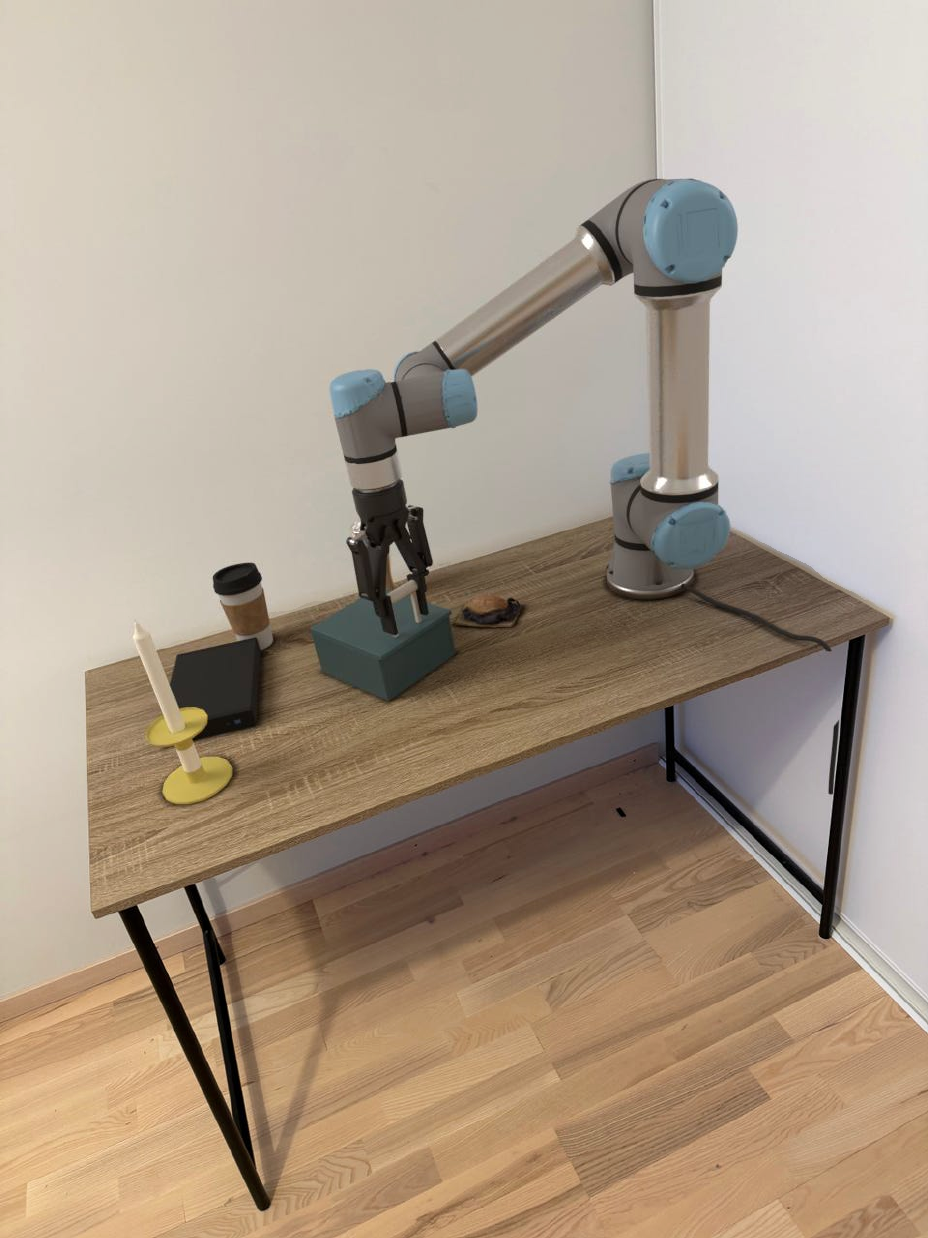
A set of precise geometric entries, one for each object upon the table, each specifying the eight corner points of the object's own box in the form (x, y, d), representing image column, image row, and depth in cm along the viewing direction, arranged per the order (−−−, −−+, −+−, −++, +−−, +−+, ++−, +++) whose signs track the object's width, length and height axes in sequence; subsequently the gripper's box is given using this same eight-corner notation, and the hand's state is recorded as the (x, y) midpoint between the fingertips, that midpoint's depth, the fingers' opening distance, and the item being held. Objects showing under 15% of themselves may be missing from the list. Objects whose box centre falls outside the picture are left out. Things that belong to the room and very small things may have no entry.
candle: (191, 754, 126) (130, 597, 113) (246, 762, 123) (189, 601, 109) (148, 798, 119) (77, 636, 105) (205, 809, 115) (138, 642, 102)
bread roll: (454, 628, 148) (450, 610, 146) (468, 604, 154) (464, 586, 153) (512, 629, 144) (509, 611, 142) (524, 604, 151) (521, 586, 149)
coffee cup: (269, 656, 149) (245, 581, 141) (226, 656, 151) (200, 582, 143) (287, 631, 156) (265, 558, 148) (245, 632, 158) (222, 560, 150)
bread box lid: (452, 614, 136) (444, 569, 132) (381, 660, 126) (371, 614, 122) (380, 590, 147) (370, 548, 143) (310, 632, 137) (298, 588, 133)
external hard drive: (261, 651, 150) (256, 637, 149) (256, 725, 130) (251, 710, 129) (181, 669, 149) (176, 654, 148) (164, 746, 129) (158, 731, 128)
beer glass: (406, 594, 161) (391, 523, 154) (375, 608, 158) (358, 536, 151) (388, 583, 166) (373, 513, 159) (358, 596, 163) (341, 526, 156)
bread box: (456, 653, 140) (448, 613, 136) (388, 701, 131) (378, 659, 127) (388, 629, 151) (380, 591, 147) (321, 671, 141) (310, 632, 137)
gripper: (406, 457, 128) (431, 590, 139) (308, 503, 117) (345, 644, 128) (441, 463, 123) (464, 600, 135) (343, 512, 112) (377, 658, 123)
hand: (406, 622), depth 131 cm, fingers closed on bread box lid, 6 cm apart
